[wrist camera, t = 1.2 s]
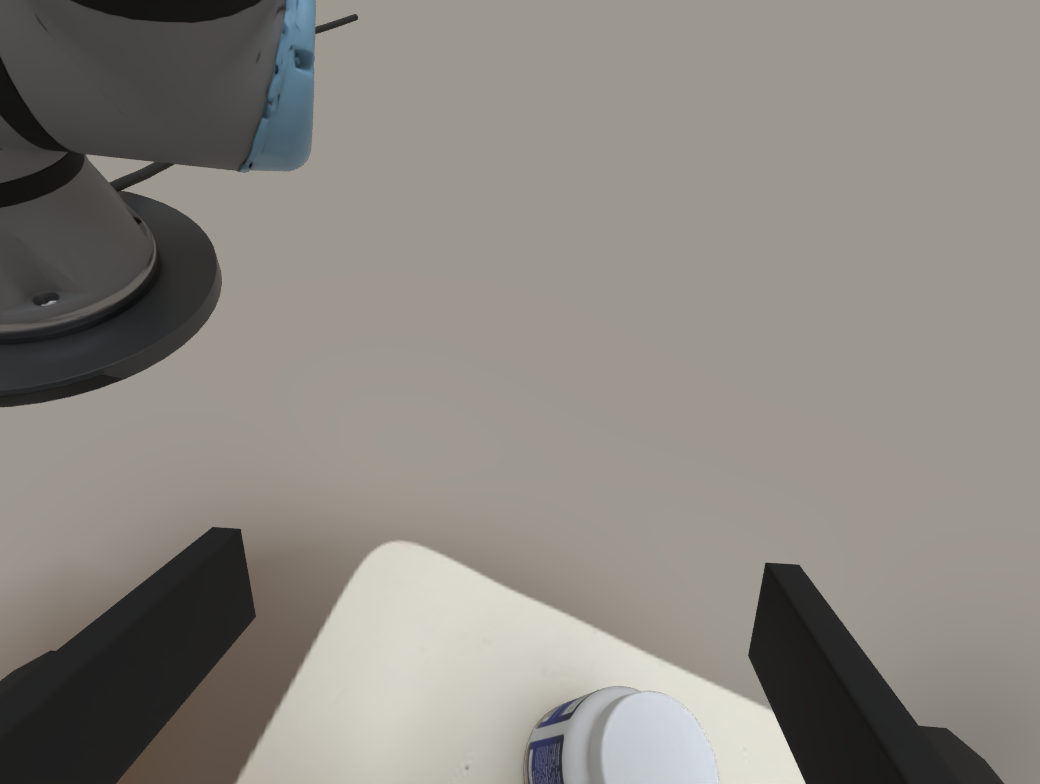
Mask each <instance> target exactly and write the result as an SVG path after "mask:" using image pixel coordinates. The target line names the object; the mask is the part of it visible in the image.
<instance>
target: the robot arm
mask: <svg viewBox="0 0 1040 784" xmlns="http://www.w3.org/2000/svg"><path fill="white" fill-rule="evenodd" d="M315 3H316V0H0V345H6V344H22V343H31V342H38V341H44V340H50V339H55V338H59V337H63V336H67V335H71V334H74V333H78V332H81V331H84V330H87V329H90V328H92V327H95V326H97V325H100V324H102V323H104V322H107V321H109V320H111V319H113V318H115V317H117V316H118V315H120V314H122V313H123V312H125V311H127V310H128V309H130V308H131V307H132V306H134V305H135V304H136V303H138V302H139V301H140V300H141V299H142V298H143V297H144V296H145V295H146V294H147V293H148V292H149V291H150V290H151V288H152V287H153V286H154V284H155V282H156V281H157V279H158V276H159V274H160V270H161V256H160V252H159V250H158V247H157V245H156V242H155V240H154V237H153V235H152V233H151V231H150V229H149V227H148V226H147V224H146V223H145V222H144V221H143V220H142V219H141V217H140V216H139V215H138V214H137V213H136V212H135V211H134V210H133V209H132V208H130V207H129V206H127V205H126V204H125V202H124V201H123V199H122V198H121V197H120V195H119V194H118V193H117V192H119V191H121V190H123V189H125V188H127V187H130V186H132V185H134V184H136V183H139V182H141V181H143V180H146V179H148V178H150V177H152V176H154V175H155V174H157V173H159V172H161V171H163V170H165V169H167V168H169V167H170V166H172V165H174V164H180V165H189V166H199V167H208V168H217V169H226V170H235V171H238V172H244V173H245V172H249V171H250V170H260V171H262V170H263V171H292V170H295V169H297V168H299V167H301V166H302V165H304V163H305V162H306V161H307V160H308V157H309V155H310V151H311V142H312V127H313V100H314V99H313V98H314V46H315V34H317V33H321V32H324V31H327V30H330V29H333V28H336V27H339V26H342V25H344V24H347V23H350V22H353V21H356V20H357V19H358V16H357V15H356V14H354V15H351V16H348V17H345V18H342V19H339V20H336V21H333V22H330V23H327V24H324V25H320V26H317V27H315V17H316V15H315V14H316V13H315V12H316V11H315V10H316V8H315V7H316V4H315ZM86 154H90V155H99V156H108V157H117V158H126V159H135V160H144V161H153V162H154V163H152V164H150V165H148V166H146V167H145V168H142V169H140V170H138V171H136V172H134V173H131V174H129V175H126V176H124V177H121V178H119V179H116V180H114V181H112V182H110V183H109V182H108V181H107V180H106V179H105V178H104V177H103V176H102V175H101V173H100V172H99V171H98V170H97V169H96V168H95V167H94V166H93V165H92V163H91V162H90V161H89V160H88V158H87V156H86ZM255 617H256V615H255V609H254V603H253V597H252V592H251V587H250V580H249V575H248V569H247V563H246V558H245V553H244V546H243V541H242V534H241V529H233V528H218V527H212V528H211V529H210V530H208V531H207V532H206V533H205V534H204V535H202V536H201V537H200V538H198V539H197V540H196V541H195V542H193V543H192V544H191V545H190V546H188V547H187V548H186V549H185V550H183V551H182V552H181V553H180V554H178V555H177V556H176V557H175V558H173V559H172V560H171V561H169V562H168V563H167V564H165V566H163V567H162V568H160V569H159V570H158V571H157V572H156V573H154V574H153V575H152V576H150V577H149V578H148V579H147V580H145V581H144V582H143V583H141V584H140V585H139V586H138V587H136V588H135V589H134V590H133V591H131V592H130V593H129V594H128V595H126V596H125V597H124V598H123V599H121V600H120V601H119V602H117V603H116V604H115V605H114V606H113V607H111V608H110V609H109V610H108V611H106V612H105V613H104V614H102V615H101V616H100V617H99V618H97V619H96V620H95V621H93V623H91V624H90V625H88V626H87V627H86V628H85V629H84V630H82V631H81V632H80V633H78V634H77V635H76V636H75V637H74V638H72V639H71V640H70V641H68V642H67V643H66V644H65V645H63V646H62V647H61V648H59V649H58V650H57V651H49V652H47V653H45V654H44V655H42V656H40V657H38V658H36V659H34V660H33V661H31V662H29V663H27V664H26V665H23V666H22V667H20V668H18V669H16V670H14V671H13V672H11V673H10V674H9V675H8V676H6V677H5V678H4V679H2V680H1V681H0V784H116V783H117V782H118V780H119V779H120V778H121V776H123V774H124V773H125V772H126V771H127V770H128V768H129V767H130V766H131V765H132V764H133V762H134V761H135V760H136V759H137V758H138V756H139V755H140V754H141V753H142V752H143V750H144V749H145V748H146V747H147V746H148V745H149V743H150V742H151V741H152V740H153V738H154V737H155V736H156V735H157V734H158V732H159V731H160V730H161V729H162V728H163V727H164V725H165V724H166V723H167V722H168V721H169V720H170V718H171V717H172V716H173V715H174V714H175V712H176V711H177V710H178V709H179V708H180V706H181V705H182V704H183V703H184V702H185V700H186V699H187V698H188V697H189V695H190V694H191V693H192V692H193V691H194V690H195V688H196V687H197V686H198V685H199V684H200V683H201V681H202V680H203V679H204V678H205V677H206V675H207V674H208V673H209V672H210V671H211V669H212V668H213V667H214V666H215V665H216V664H217V662H218V661H219V660H220V659H221V658H222V656H223V655H224V654H225V653H226V652H227V650H228V649H229V648H230V647H231V646H232V644H233V643H234V642H235V641H236V640H237V638H238V637H239V636H240V635H241V634H242V632H243V631H244V630H245V629H246V628H247V626H248V625H249V624H250V623H251V622H252V620H253V619H254V618H255ZM748 656H749V659H750V660H751V663H752V665H753V667H754V669H755V672H756V674H757V676H758V678H759V681H760V683H761V685H762V687H763V690H764V692H765V694H766V696H767V699H768V701H769V703H770V705H771V707H772V710H773V712H774V714H775V716H776V718H777V721H778V723H779V725H780V727H781V730H782V732H783V734H784V736H785V738H786V741H787V743H788V745H789V747H790V750H791V752H792V754H793V756H794V758H795V761H796V763H797V765H798V767H799V769H800V772H801V774H802V776H803V778H804V781H805V783H806V784H1004V783H1003V782H1002V781H1001V779H1000V778H999V777H998V776H997V774H996V773H995V772H994V771H993V769H992V768H991V767H990V766H989V765H988V763H987V762H986V761H985V760H984V759H983V758H982V757H981V756H979V755H978V754H977V753H976V752H974V751H973V750H972V749H971V748H970V747H968V746H967V745H966V744H965V743H964V742H963V741H961V740H960V739H959V738H958V737H957V736H955V735H954V734H953V733H952V732H951V731H949V730H948V729H947V728H937V727H926V726H918V724H917V723H916V722H915V720H914V719H913V718H912V716H911V715H910V714H909V712H908V711H907V710H906V708H905V707H904V705H903V704H902V703H901V701H900V700H899V699H898V697H897V696H896V695H895V693H894V692H893V691H892V689H891V688H890V687H889V685H888V684H887V683H886V681H885V680H884V679H883V678H882V676H881V674H880V673H879V672H878V670H877V669H876V668H875V666H874V665H873V664H872V662H871V661H870V660H869V658H868V657H867V656H866V654H865V653H864V652H863V650H862V649H861V648H860V646H859V645H858V644H857V642H856V641H855V639H854V638H853V637H852V636H851V634H850V633H849V631H848V630H847V629H846V627H845V626H844V625H843V623H842V622H841V621H840V619H839V618H838V617H837V615H836V614H835V612H834V611H833V610H832V609H831V607H830V606H829V604H828V603H827V602H826V600H825V599H824V598H823V596H822V595H821V594H820V592H819V591H818V590H817V588H816V587H815V586H814V584H813V583H812V581H811V580H810V579H809V577H808V576H807V575H806V573H805V572H804V571H803V569H802V568H801V567H800V565H793V564H778V563H765V569H764V574H763V579H762V585H761V590H760V596H759V601H758V607H757V612H756V617H755V622H754V628H753V633H752V638H751V644H750V649H749V654H748Z"/></svg>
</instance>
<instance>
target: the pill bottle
mask: <svg viewBox="0 0 1040 784" xmlns="http://www.w3.org/2000/svg"><path fill="white" fill-rule="evenodd" d="M524 776H525V784H719V773H718V768H717V763H716V759H715V755H714V752H713V749H712V746H711V744H710V741H709V739H708V737H707V735H706V733H705V732H704V730H703V728H702V727H701V725H700V723H699V722H698V721H697V719H696V718H695V717H694V716H693V714H692V713H691V712H690V711H689V710H688V709H687V708H686V707H685V706H684V705H682V704H681V703H680V702H678V701H677V700H675V699H674V698H672V697H670V696H668V695H666V694H663V693H660V692H655V691H639V690H637V689H634V688H630V687H624V686H613V687H608V688H603V689H600V690H597V691H595V692H593V693H590V694H587V695H585V696H582V697H580V698H577V699H575V700H572V701H570V702H567V703H565V704H563V705H560V706H558V707H556V708H555V709H553V710H551V711H550V712H548V713H547V714H546V715H545V716H544V717H543V718H542V719H541V720H540V721H539V723H538V724H537V725H536V727H535V729H534V730H533V732H532V734H531V737H530V739H529V742H528V745H527V749H526V754H525V761H524Z"/></svg>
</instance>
